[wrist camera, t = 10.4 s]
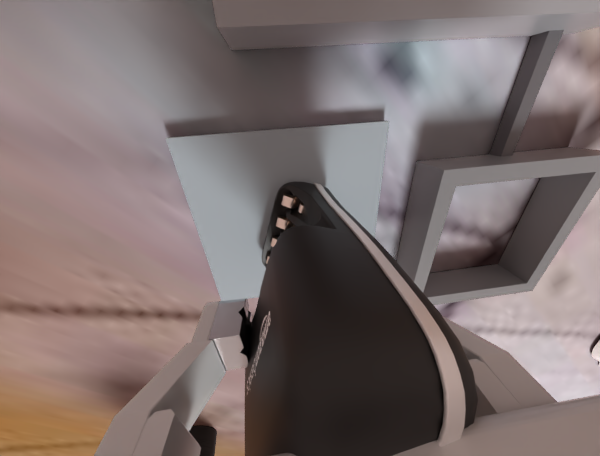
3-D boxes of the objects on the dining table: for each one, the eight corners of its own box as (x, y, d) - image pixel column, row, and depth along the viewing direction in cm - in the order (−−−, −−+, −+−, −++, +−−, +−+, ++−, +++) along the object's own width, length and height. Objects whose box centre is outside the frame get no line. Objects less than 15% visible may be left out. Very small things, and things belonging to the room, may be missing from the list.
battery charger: (269, 167, 12) (315, 440, 2) (329, 182, 13) (550, 410, 3) (248, 264, 15) (226, 561, 5) (298, 269, 16) (362, 525, 6)
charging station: (710, -123, 9) (943, -248, 6) (503, 271, 20) (547, 300, 17) (200, -129, 8) (149, -304, 4) (274, 302, 18) (275, 342, 15)
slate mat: (384, 120, 12) (389, 121, 12) (365, 277, 18) (368, 282, 18) (170, 137, 11) (165, 138, 11) (223, 296, 17) (222, 302, 17)
